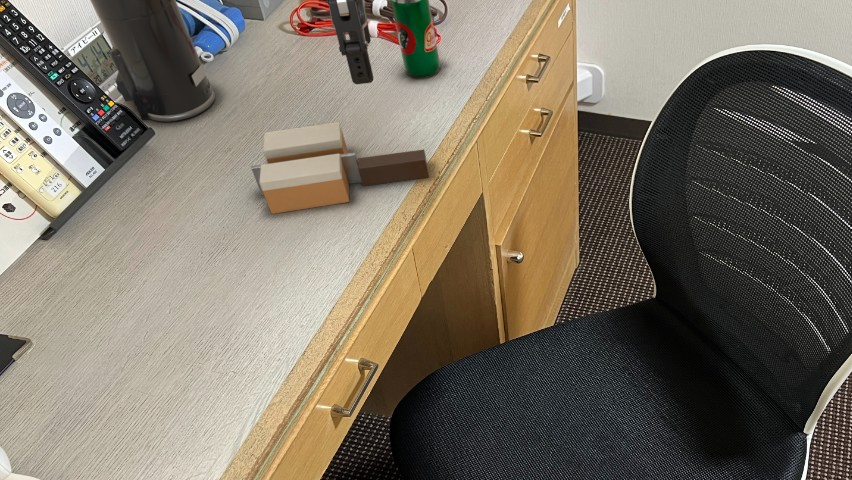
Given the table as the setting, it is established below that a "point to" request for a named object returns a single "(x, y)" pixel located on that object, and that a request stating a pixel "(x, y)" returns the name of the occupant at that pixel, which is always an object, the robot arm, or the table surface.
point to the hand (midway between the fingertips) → (362, 62)
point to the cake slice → (304, 183)
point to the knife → (377, 168)
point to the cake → (304, 143)
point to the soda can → (416, 37)
